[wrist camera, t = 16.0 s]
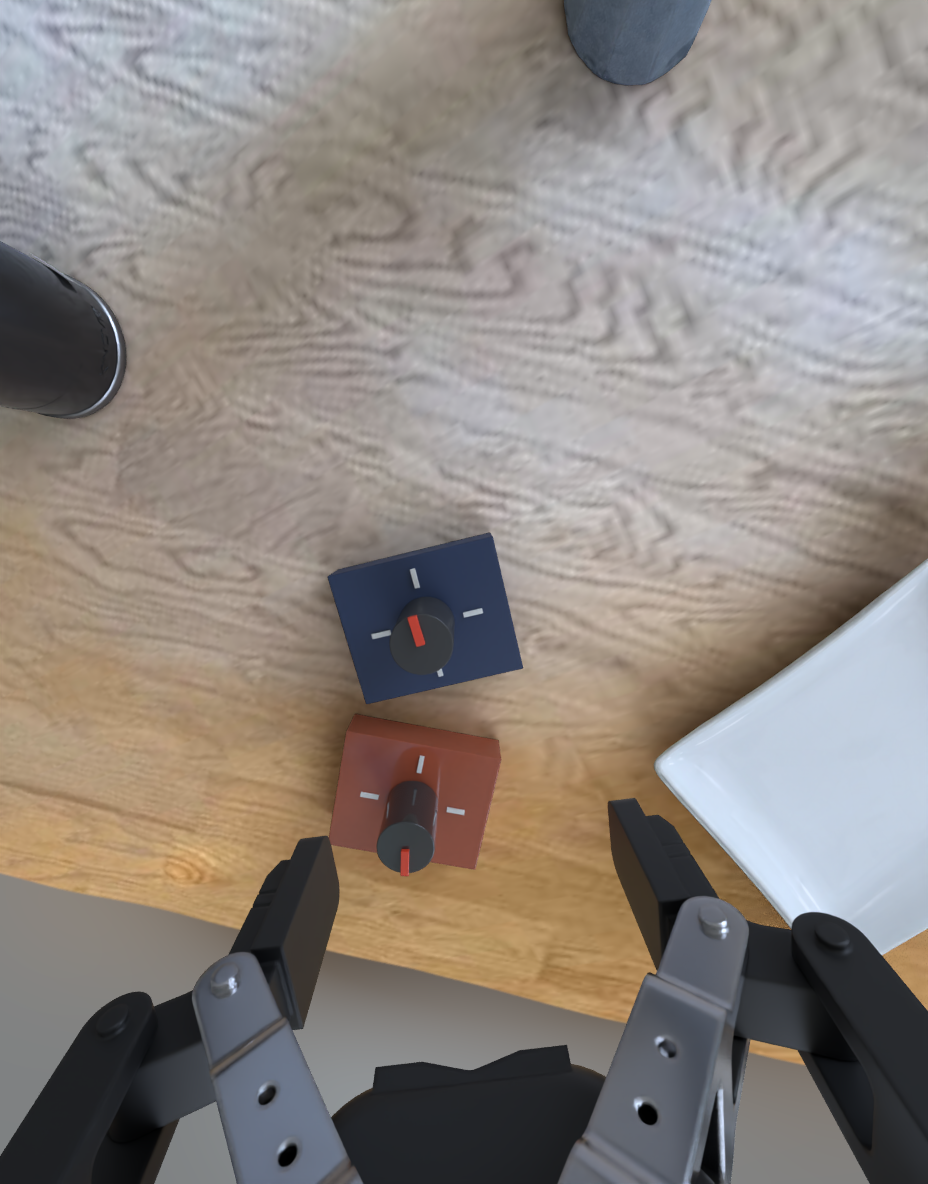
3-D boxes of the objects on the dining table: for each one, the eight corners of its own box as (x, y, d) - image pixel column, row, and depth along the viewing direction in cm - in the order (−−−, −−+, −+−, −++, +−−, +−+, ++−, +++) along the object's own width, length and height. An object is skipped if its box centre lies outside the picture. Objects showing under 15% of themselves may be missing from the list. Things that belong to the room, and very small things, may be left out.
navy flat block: (373, 688, 41) (365, 705, 38) (337, 569, 39) (326, 576, 36) (518, 655, 40) (523, 669, 37) (490, 532, 38) (492, 536, 35)
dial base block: (336, 820, 43) (326, 846, 40) (354, 713, 41) (345, 731, 38) (474, 844, 44) (475, 871, 40) (498, 739, 42) (501, 760, 38)
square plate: (632, 742, 42) (649, 768, 38) (925, 524, 38) (976, 528, 34) (811, 950, 46) (843, 992, 42) (1090, 771, 42) (1152, 800, 38)
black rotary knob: (461, 641, 37) (461, 667, 31) (408, 656, 37) (399, 684, 32) (445, 590, 36) (442, 607, 31) (392, 604, 36) (380, 625, 31)
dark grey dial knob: (387, 779, 39) (375, 824, 34) (439, 780, 39) (435, 826, 34) (386, 825, 40) (375, 876, 35) (437, 826, 40) (433, 877, 35)
